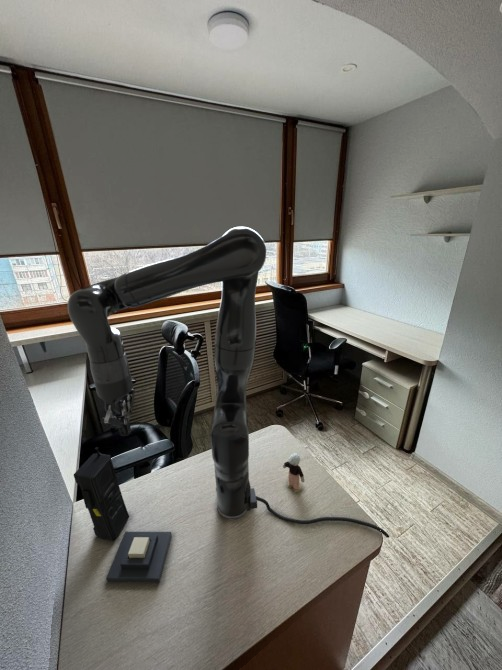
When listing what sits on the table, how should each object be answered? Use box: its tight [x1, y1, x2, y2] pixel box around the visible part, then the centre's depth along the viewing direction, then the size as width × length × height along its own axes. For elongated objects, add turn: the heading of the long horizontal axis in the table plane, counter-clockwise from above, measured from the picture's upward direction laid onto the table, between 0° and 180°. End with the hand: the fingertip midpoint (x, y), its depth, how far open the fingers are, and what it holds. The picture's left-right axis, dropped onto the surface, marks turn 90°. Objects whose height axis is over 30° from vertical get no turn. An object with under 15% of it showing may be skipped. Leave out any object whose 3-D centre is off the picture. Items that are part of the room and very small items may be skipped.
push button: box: [105, 531, 173, 584], centre depth 65 cm, size 12×10×4 cm
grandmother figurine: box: [282, 453, 305, 493], centre depth 81 cm, size 8×4×13 cm, turn 58°
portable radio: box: [73, 446, 130, 542], centre depth 67 cm, size 8×6×25 cm
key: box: [128, 537, 150, 558], centre depth 64 cm, size 4×4×2 cm
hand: (126, 433), depth 67 cm, fingers closed
